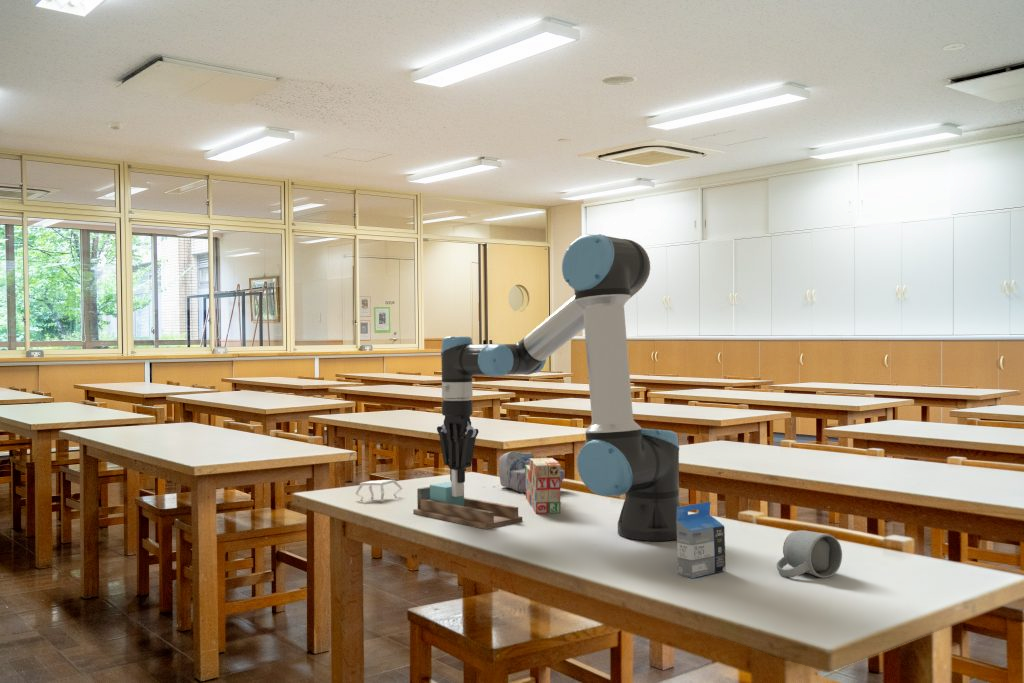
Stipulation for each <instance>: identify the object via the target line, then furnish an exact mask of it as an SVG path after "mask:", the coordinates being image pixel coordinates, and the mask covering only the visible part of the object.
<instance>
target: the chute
mask: <svg viewBox="0 0 1024 683" xmlns="http://www.w3.org/2000/svg"><path fill="white" fill-rule="evenodd" d="M416 496H417V504H416V505H417V508H414V509H413V513H412V514H414V515H419V516H422V517H427V518H428V517H429V518H432V519H436V520H441V521H446V522H451V523H456V524H461V525H465V526H468V525H469V527H473V526H474V527H475V528H479V529H482V528H483V530H488V529H489V530H490V529H492V528H493V527H494V528H498V527H502V526H508V525H510V524H516V523H521V522H523V516H520V515H519V506H513V505H508V504H503V503H498V502H493V501H492V502H491V501H486V500H481V499H476V498H470V497H466V496H464V506H460V505H455V504H450V503H444V502H439V501H434V500H430V486H426V487H419V488H417V495H416Z"/></svg>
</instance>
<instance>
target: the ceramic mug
mask: <svg viewBox="0 0 1024 683" xmlns="http://www.w3.org/2000/svg"><path fill="white" fill-rule="evenodd" d="M842 550H843V549H842V546H841V544H840V542H839V540H838V539H837V538H836V536H834V535H831V534H830V533H823V532H817V531H812V530H811V531H809V530H804V529H803V530H795V531H793V532H790V533H789V534H788V535H787V536H786V538H785V540H784V541H783V546H782V554H783V557H781V558H780V559H779V560H778V561H777V562H776V569H777V572H778V574H779V575H780V576H781V577H784V578H795V577H799V576H801V575H803V574H805V573H807V574H808V575H809V574H810V575H812V576H815V577H818V578H821V579H828V578H831V577H832V576H834V575H835V574H836V573H837V572H838V571H839V569H840V567H841V564H842V561H843V560H842V559H843V551H842ZM787 565H789V566H790V567H792V568H789V569H788V568H787V569H785V568H784V567H786V566H787Z"/></svg>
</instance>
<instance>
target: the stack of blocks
mask: <svg viewBox="0 0 1024 683" xmlns="http://www.w3.org/2000/svg"><path fill="white" fill-rule="evenodd" d="M561 467H562V466H561V464H560V463H559V461H558V460H556V459H554V458H553V457H543V458H542V457H541V458H536V457H534V458H530V465H525V476H526V493H525V499H526V501H527V503H528V505H530V507H531V508H532V510H533V511H534V513H535V515H546V514H550V515H551V514H553V515H554V514H561V503H562V502H561V488H562V487H561V486H562V482H561V469H562V468H561Z"/></svg>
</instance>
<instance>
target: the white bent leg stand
mask: <svg viewBox="0 0 1024 683" xmlns="http://www.w3.org/2000/svg"><path fill="white" fill-rule="evenodd" d="M390 484H394V485H395V486H396V487H397V488H399V489H397V491H395V492H394V494H393V497H394V498H395V499H396V498H397V499H398V496H397V495H396V494H398V493H399V492H401V490H403V487H402V486H401V485H400V483H398V482H397V480H396V479H381V480H380V479H378V480H369V481H364V482H359V485H358V486H359V487H358V488H357V490H356V492H355V495H356V496H358V497H360V500H359V502H360V501H363V499H364V496H362V495H360V494H359V492H360V491H361V490H362V488H363V486H368V489H369V492H370V494H371V497H370V499H373V498H374V496H375V495H374V494H375V493H374V491H373V487H372V486H380V493H381V497H380V502H384V496H385V488H384V485H390Z"/></svg>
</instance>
